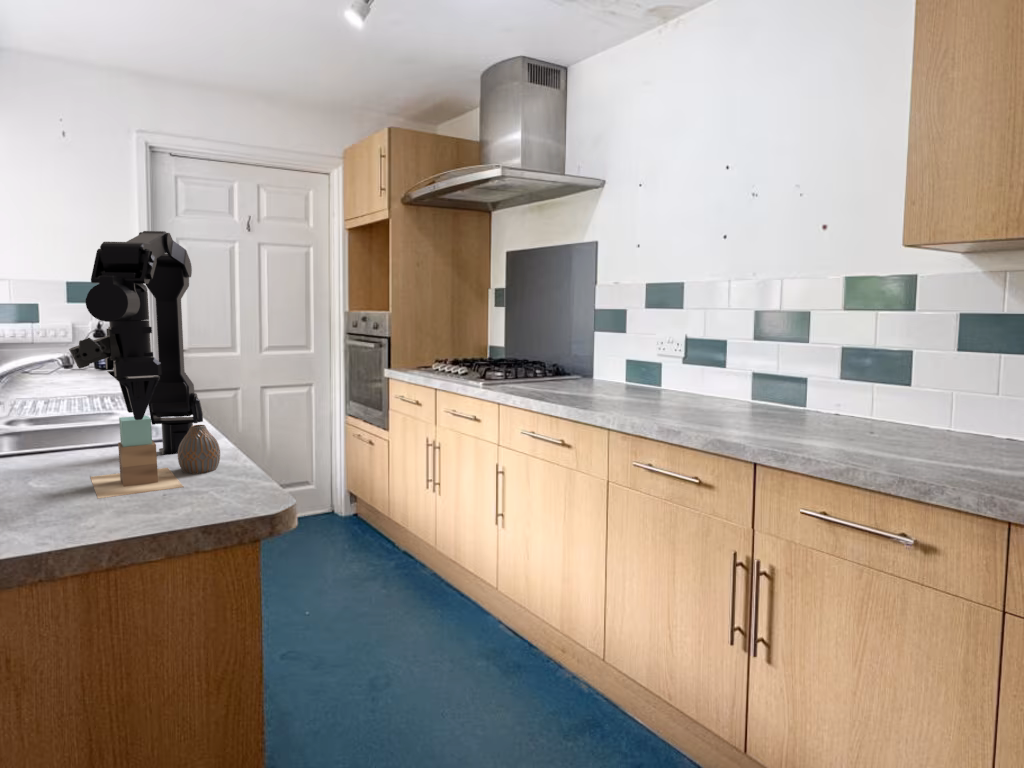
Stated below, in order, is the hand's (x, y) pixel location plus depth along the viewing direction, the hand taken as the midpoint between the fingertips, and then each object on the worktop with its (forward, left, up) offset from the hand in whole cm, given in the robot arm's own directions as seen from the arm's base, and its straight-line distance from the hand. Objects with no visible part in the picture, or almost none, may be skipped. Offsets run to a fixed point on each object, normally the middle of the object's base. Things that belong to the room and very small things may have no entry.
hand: (135, 415), depth 116 cm
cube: (0, 0, -5) cm, 5 cm away
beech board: (0, 0, -12) cm, 12 cm away
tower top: (0, 0, -8) cm, 8 cm away
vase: (-3, +10, -12) cm, 16 cm away
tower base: (0, 0, -11) cm, 11 cm away
